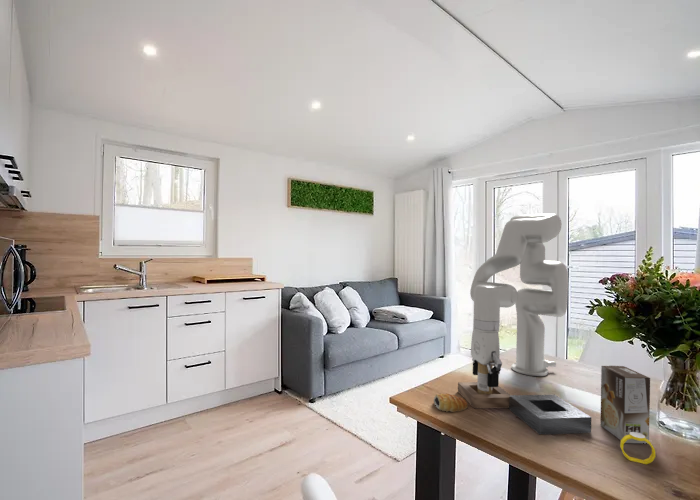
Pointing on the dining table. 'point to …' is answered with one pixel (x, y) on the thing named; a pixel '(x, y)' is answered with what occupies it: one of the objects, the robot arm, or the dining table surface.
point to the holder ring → (484, 396)
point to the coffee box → (625, 402)
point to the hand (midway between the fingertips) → (484, 380)
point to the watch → (640, 438)
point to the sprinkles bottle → (483, 379)
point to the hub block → (549, 414)
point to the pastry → (450, 402)
